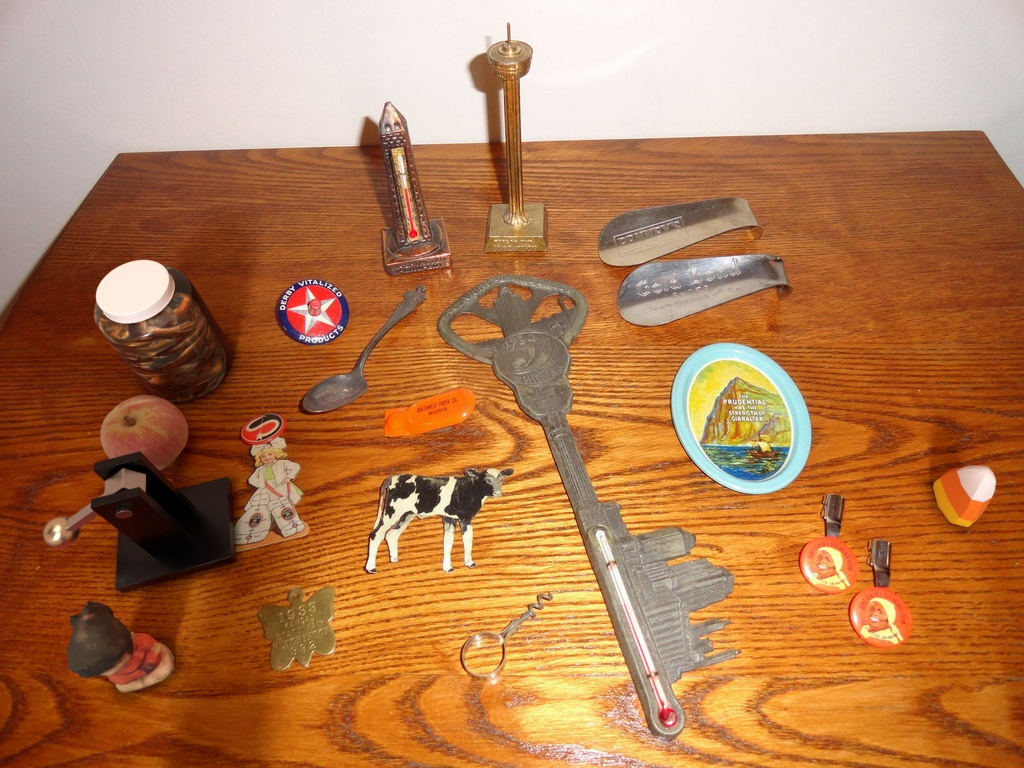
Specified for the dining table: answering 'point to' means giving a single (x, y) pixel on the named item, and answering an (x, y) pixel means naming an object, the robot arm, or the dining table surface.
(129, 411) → the apple
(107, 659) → the figurine
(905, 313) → the dining table surface
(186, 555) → the bracket
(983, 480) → the candy corn
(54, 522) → the lever
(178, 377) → the jar
